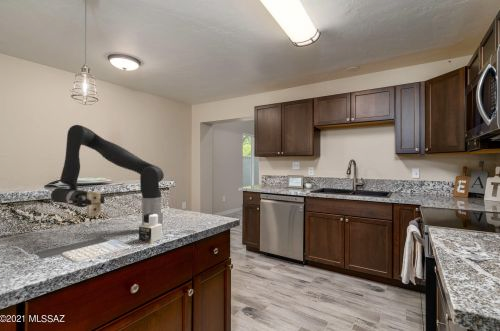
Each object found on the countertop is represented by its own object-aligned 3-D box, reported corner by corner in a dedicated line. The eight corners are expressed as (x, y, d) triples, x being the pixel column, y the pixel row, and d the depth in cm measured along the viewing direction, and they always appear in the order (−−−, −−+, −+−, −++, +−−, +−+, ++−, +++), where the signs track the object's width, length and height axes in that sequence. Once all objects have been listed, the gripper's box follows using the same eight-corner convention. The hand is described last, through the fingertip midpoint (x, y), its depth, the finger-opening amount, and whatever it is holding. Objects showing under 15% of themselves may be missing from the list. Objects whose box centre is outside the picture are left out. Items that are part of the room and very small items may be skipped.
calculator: (60, 257, 93) (60, 252, 93) (114, 243, 109) (114, 238, 109) (75, 266, 85) (75, 260, 85) (131, 249, 102) (131, 244, 102)
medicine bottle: (138, 241, 110) (138, 214, 110) (150, 237, 117) (150, 211, 117) (150, 243, 107) (151, 216, 107) (162, 239, 114) (162, 213, 114)
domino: (98, 213, 109) (98, 191, 109) (100, 214, 108) (100, 191, 108) (87, 215, 105) (86, 192, 105) (89, 216, 104) (89, 192, 104)
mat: (100, 238, 113) (100, 237, 113) (111, 242, 108) (111, 241, 108) (33, 254, 93) (33, 253, 93) (42, 260, 88) (42, 258, 88)
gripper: (60, 191, 109) (77, 194, 99) (95, 188, 120) (113, 191, 111) (60, 208, 109) (78, 213, 99) (95, 204, 121) (114, 207, 111)
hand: (96, 201), depth 105 cm, fingers closed on domino, 4 cm apart
